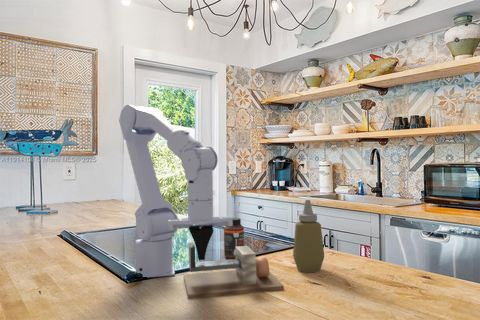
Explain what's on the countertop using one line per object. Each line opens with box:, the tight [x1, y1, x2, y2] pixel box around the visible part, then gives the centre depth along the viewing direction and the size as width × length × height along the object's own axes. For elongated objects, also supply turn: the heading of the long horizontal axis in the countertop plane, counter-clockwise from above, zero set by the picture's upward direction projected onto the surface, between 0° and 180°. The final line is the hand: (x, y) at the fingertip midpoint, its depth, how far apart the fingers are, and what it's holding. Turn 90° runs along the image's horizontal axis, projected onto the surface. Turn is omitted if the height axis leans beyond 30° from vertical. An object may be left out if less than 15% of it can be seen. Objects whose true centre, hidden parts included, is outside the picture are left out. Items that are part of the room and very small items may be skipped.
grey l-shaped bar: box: [188, 242, 241, 273], centre depth 86 cm, size 15×5×6 cm, turn 102°
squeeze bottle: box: [292, 199, 325, 273], centre depth 96 cm, size 8×8×18 cm
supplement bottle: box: [223, 217, 245, 259], centre depth 110 cm, size 6×6×11 cm
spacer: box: [256, 257, 270, 278], centre depth 88 cm, size 4×4×2 cm
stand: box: [183, 245, 285, 299], centre depth 87 cm, size 21×14×8 cm, turn 102°
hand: (201, 258), depth 85 cm, fingers closed
